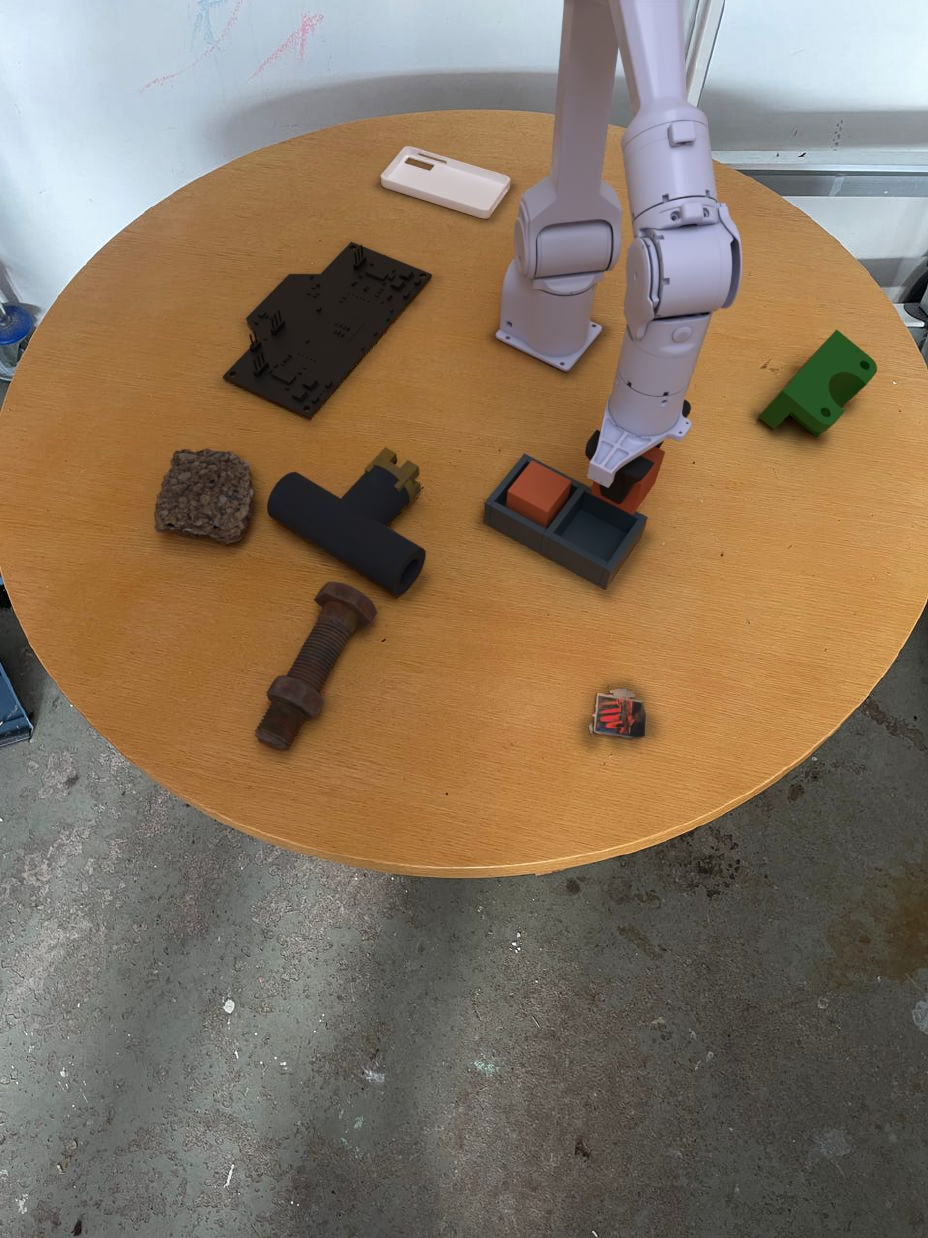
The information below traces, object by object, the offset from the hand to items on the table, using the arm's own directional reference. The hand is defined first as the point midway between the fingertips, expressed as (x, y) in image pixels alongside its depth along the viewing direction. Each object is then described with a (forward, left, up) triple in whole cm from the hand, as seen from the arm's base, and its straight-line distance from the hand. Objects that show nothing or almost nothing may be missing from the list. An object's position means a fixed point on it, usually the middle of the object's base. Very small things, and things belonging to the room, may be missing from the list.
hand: (624, 479), depth 78 cm
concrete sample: (-34, -20, -8) cm, 40 cm away
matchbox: (+10, -17, -8) cm, 21 cm away
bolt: (-14, -29, -8) cm, 33 cm away
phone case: (-43, +34, -8) cm, 55 cm away
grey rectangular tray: (-4, -3, -8) cm, 9 cm away
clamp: (+10, +25, -8) cm, 28 cm away
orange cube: (-7, -3, -7) cm, 10 cm away
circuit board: (-41, +6, -8) cm, 42 cm away
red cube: (0, 0, -1) cm, 1 cm away
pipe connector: (-20, -13, -8) cm, 25 cm away
